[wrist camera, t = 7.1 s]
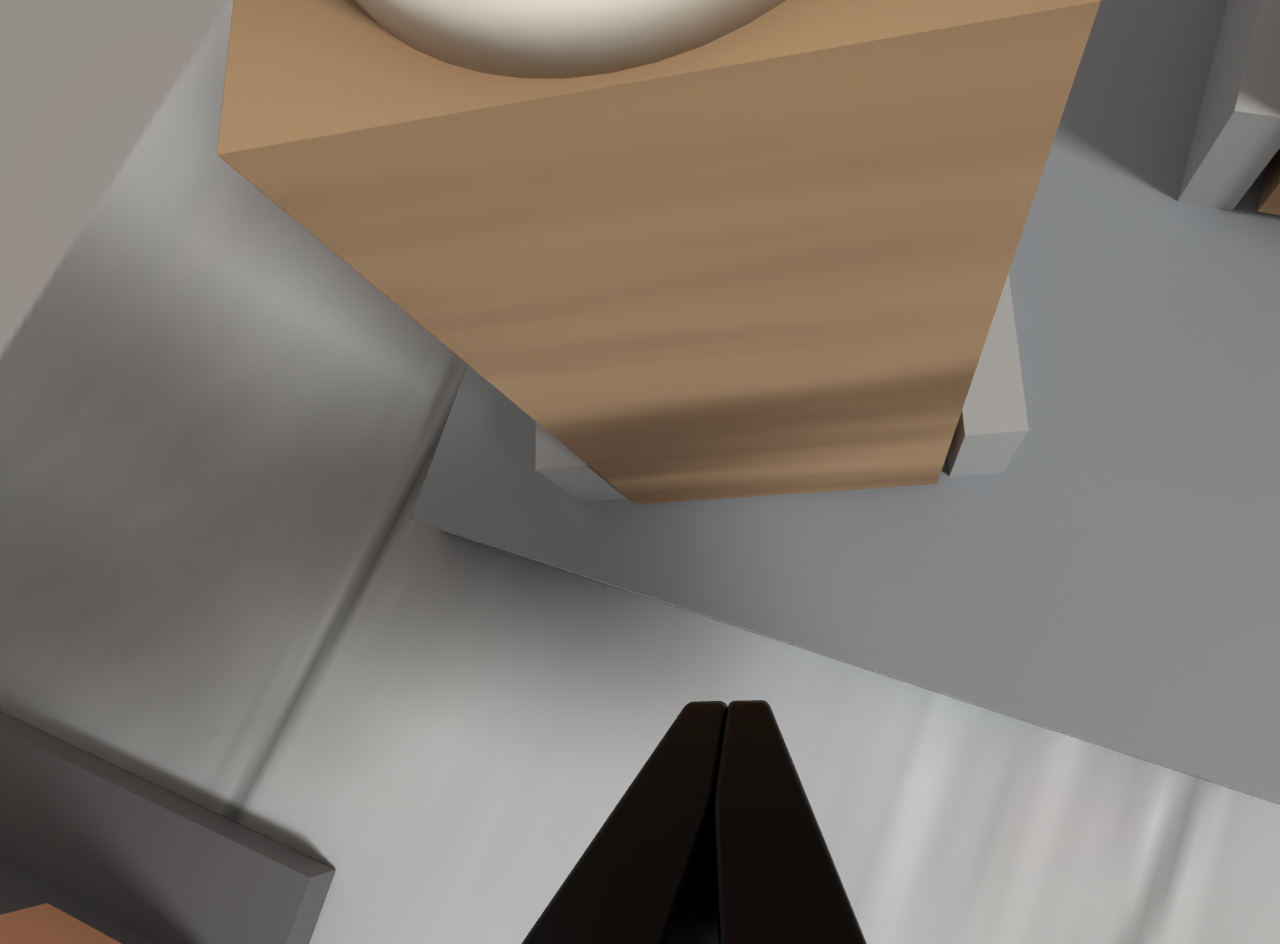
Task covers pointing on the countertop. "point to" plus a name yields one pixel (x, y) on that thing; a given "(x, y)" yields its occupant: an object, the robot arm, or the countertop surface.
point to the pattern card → (135, 859)
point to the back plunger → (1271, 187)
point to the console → (1025, 446)
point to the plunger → (676, 209)
